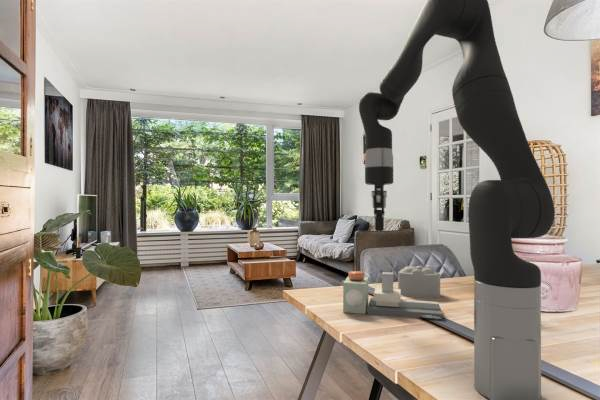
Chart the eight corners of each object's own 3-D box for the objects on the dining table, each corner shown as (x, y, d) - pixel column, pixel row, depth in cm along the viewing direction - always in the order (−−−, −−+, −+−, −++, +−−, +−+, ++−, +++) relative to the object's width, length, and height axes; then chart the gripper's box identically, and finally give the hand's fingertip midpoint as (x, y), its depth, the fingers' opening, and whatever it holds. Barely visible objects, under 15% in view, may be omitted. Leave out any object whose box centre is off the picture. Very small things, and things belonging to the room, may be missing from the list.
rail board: (442, 319, 97) (442, 308, 97) (367, 313, 101) (367, 302, 101) (438, 309, 106) (438, 298, 106) (370, 304, 111) (370, 294, 111)
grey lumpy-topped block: (401, 288, 133) (402, 263, 133) (441, 292, 127) (441, 266, 128) (396, 295, 123) (396, 268, 123) (439, 299, 118) (439, 271, 118)
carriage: (400, 308, 101) (400, 276, 101) (373, 306, 102) (373, 274, 103) (400, 301, 107) (400, 271, 108) (375, 299, 109) (375, 270, 109)
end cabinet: (365, 314, 101) (365, 284, 101) (343, 312, 103) (343, 282, 103) (368, 304, 111) (368, 277, 111) (348, 302, 113) (348, 275, 113)
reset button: (363, 298, 104) (363, 274, 105) (347, 297, 106) (347, 273, 106) (364, 294, 109) (364, 271, 109) (349, 293, 110) (349, 270, 110)
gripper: (393, 163, 95) (393, 232, 94) (393, 169, 108) (393, 230, 107) (363, 163, 97) (363, 231, 96) (366, 169, 110) (366, 229, 109)
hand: (379, 230), depth 102 cm, fingers closed
